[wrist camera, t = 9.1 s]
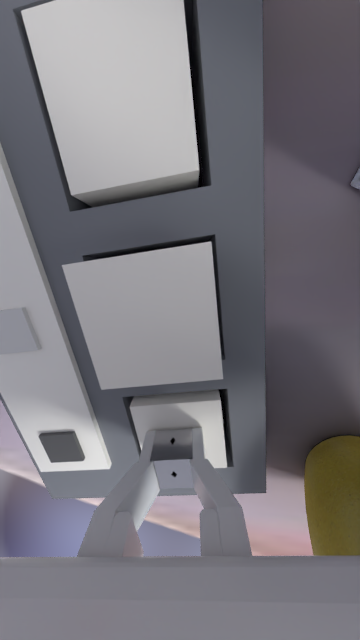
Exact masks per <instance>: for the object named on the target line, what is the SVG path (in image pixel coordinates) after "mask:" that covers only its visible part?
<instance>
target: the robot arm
mask: <svg viewBox="0 0 360 640" xmlns="http://www.w3.org/2000/svg"><path fill="white" fill-rule="evenodd" d="M168 488H194V489H195V491H196V493H197V495H198V497H199V499H200V501H201V503H202V505H203V507H204V509H203V510H202V511H201V513H200V540H201V556H166V557H165V556H161V557H158V556H157V557H143V549H142V546H141V543H140V540H139V537H138V534H137V531H138V529H139V527H140V525H141V523H142V522H143V520H144V518H145V516H146V515H147V513H148V511H149V509H150V507H151V506H152V504H153V502H154V500H155V499H156V497H157V495H158V493H159V491H160V489H168ZM0 640H360V555H345V556H252V552H251V548H250V543H249V538H248V534H247V529H246V524H245V520H244V515H243V510H242V507H241V505H240V504H239V503H238V501H237V500H236V498H235V497H234V495H233V494H232V493H231V491H230V490H229V488H228V487H227V486H226V484H225V483H224V481H223V480H222V479H221V477H220V476H219V474H218V473H217V471H216V470H215V469H214V467H213V466H212V464H211V463H210V462H209V460H208V459H206V453H205V445H204V437H203V430H202V427H199V428H184V429H174V430H155V431H147V433H146V435H145V439H144V443H143V447H142V451H141V454H140V458H139V462H136V463H135V464H134V465H133V466H132V467H131V469H130V470H129V471H128V472H127V473H126V474H125V476H124V477H123V478H122V479H121V480H120V482H119V483H118V484H117V485H116V486H115V487H114V489H113V490H112V491H111V492H110V493H109V494H108V496H107V497H106V498H105V499H104V500H103V501H102V503H101V504H100V505H99V506H98V507H97V509H96V510H95V511H94V514H93V516H92V519H91V521H90V524H89V527H88V529H87V532H86V534H85V537H84V539H83V542H82V545H81V547H80V550H79V552H78V555H77V557H2V558H1V557H0Z"/></svg>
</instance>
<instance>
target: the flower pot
mask: <svg viewBox="0 0 360 640" xmlns="http://www.w3.org/2000/svg"><path fill="white" fill-rule="evenodd" d="M304 487H305V503H306V513H307V520H308V527H309V534H310V539H311V544H312V549H313V554H314V556H345V555H360V437H358V436H351V435H345V436H337V437H333V438H330V439H327V440H325V441H322V442H321V443H319V444H318V445H316V446H315V447H314V448H313V449H312V450H311V451H310V452H309V454H308V456H307V458H306V462H305V477H304Z"/></svg>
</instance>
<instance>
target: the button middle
mask: <svg viewBox="0 0 360 640" xmlns="http://www.w3.org/2000/svg"><path fill="white" fill-rule="evenodd" d="M62 268H63V271H64V274H65V277H66V280H67V284H68V287H69V290H70V293H71V296H72V299H73V302H74V306H75V309H76V312H77V315H78V318H79V321H80V324H81V328H82V331H83V334H84V337H85V340H86V343H87V346H88V350H89V353H90V356H91V359H92V362H93V365H94V368H95V372H96V375H97V378H98V381H99V384H100V387H101V390H105V389H116V388H128V387H139V386H151V385H162V384H174V383H185V382H197V381H208V380H220V379H223V371H222V359H221V348H220V336H219V324H218V312H217V301H216V289H215V277H214V266H213V254H212V242H204V243H198V244H192V245H185V246H179V247H173V248H167V249H160V250H154V251H148V252H141V253H135V254H129V255H122V256H116V257H110V258H103V259H97V260H91V261H85V262H78V263H72V264H66V265H62Z"/></svg>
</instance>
